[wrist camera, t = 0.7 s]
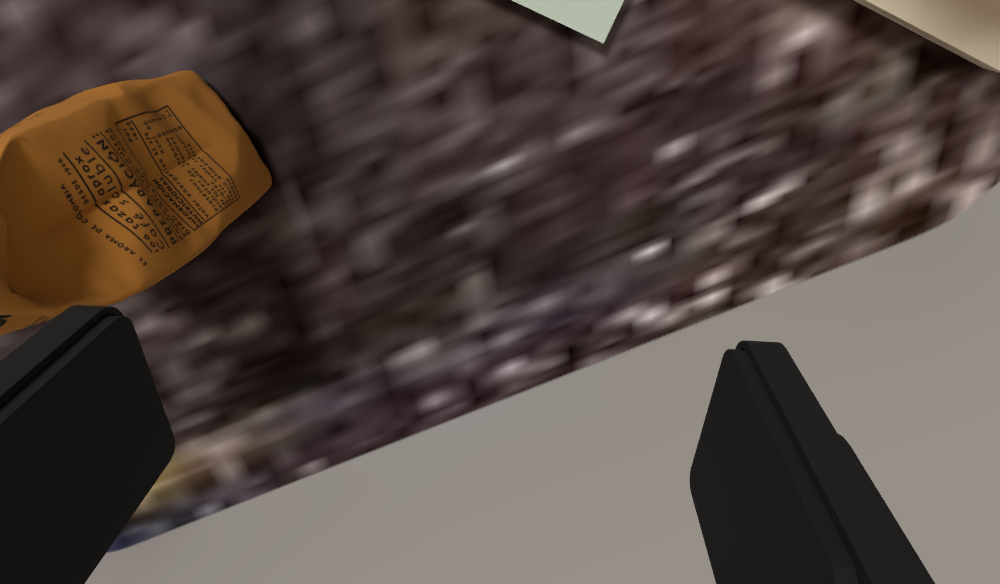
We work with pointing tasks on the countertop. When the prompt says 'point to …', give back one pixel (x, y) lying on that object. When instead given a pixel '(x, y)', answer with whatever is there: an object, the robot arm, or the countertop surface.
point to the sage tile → (579, 14)
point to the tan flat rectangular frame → (950, 25)
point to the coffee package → (117, 193)
